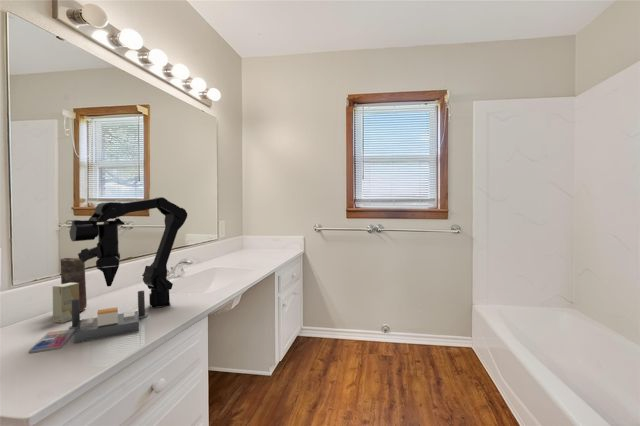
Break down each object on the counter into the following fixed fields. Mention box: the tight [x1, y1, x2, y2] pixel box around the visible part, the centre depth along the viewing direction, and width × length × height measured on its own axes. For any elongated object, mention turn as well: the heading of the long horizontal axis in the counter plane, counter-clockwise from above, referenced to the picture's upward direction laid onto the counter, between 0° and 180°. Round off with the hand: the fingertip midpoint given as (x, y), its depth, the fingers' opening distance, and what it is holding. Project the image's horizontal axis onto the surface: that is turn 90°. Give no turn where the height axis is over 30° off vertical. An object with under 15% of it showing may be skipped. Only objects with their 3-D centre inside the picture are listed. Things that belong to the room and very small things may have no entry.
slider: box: [96, 306, 119, 326], centre depth 97 cm, size 5×3×4 cm, turn 121°
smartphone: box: [28, 328, 75, 354], centre depth 93 cm, size 7×1×15 cm
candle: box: [60, 257, 88, 312], centre depth 119 cm, size 8×7×20 cm
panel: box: [73, 310, 140, 344], centre depth 100 cm, size 16×12×4 cm
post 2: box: [137, 290, 149, 320], centre depth 112 cm, size 4×4×9 cm
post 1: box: [68, 299, 81, 330], centre depth 102 cm, size 4×4×9 cm
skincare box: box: [52, 283, 79, 324], centre depth 110 cm, size 6×4×12 cm
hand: (109, 283), depth 111 cm, fingers open, 9 cm apart
